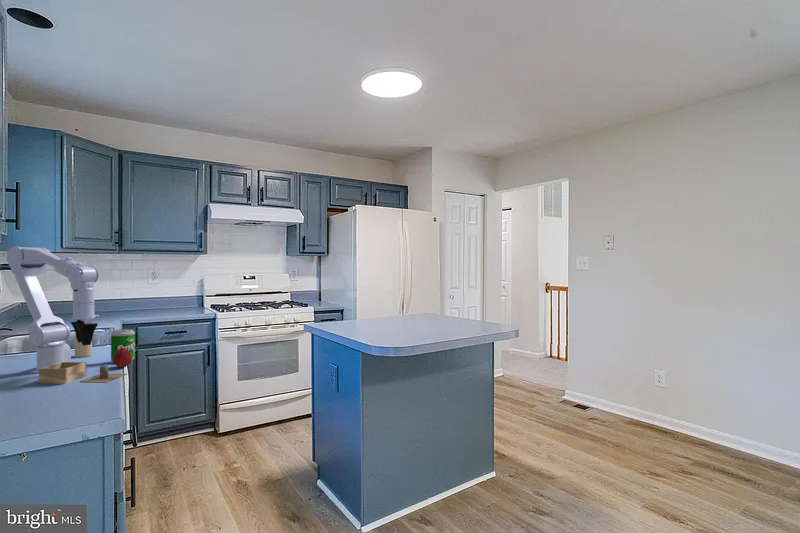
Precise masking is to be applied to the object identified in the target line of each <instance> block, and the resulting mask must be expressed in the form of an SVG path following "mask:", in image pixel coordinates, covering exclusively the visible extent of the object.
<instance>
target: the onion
mask: <svg viewBox="0 0 800 533" xmlns="http://www.w3.org/2000/svg"><path fill="white" fill-rule="evenodd" d="M112 360H113V362H112V363H113V365H114V366H117V367H118V368H120V369H123V368H126V367H127V366H129V365H130V364H131V363H132V362H133V360H132V354H131V353H130V352H129V350H127V349H125V348H124V347H123V346H121V348H120V349H119V350H118V351H117V352H116V353H115V354H114V356H113V359H112ZM131 361H132V362H131Z"/></svg>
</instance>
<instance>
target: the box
mask: <svg viewBox="0 0 800 533" xmlns="http://www.w3.org/2000/svg"><path fill="white" fill-rule="evenodd" d="M84 377H85V378H86V377H87V362H86V361H71V362H60V363H57V364H53V365H50V366H47V367H44V368H40V369H39V373H38V385H39V384H40V385H41V384H44V385H45V384H49V385H50V384H51V385H52V384H53V385H54V384H55V385H56V384H57V385H58V384H59V385H60V384H61V385H63V384H64V385H65V384H69V383H71V382H75V381H76V380H79V379H82V378H84Z"/></svg>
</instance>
